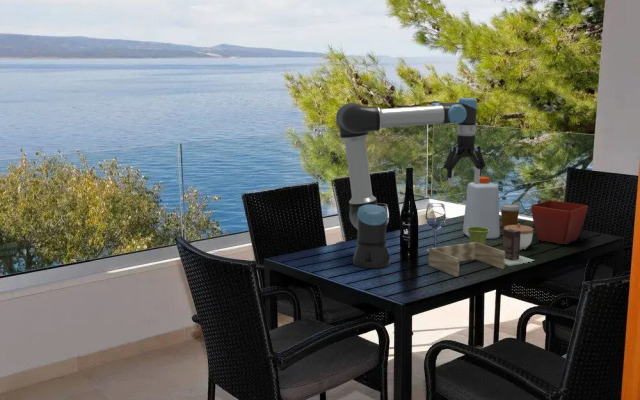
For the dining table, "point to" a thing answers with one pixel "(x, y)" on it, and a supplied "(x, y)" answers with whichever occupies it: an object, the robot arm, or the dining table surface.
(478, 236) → the plant pot
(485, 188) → the plastic bottle
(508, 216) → the disposable coffee cup
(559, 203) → the plant pot
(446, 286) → the dining table surface
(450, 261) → the wooden u-shaped frame
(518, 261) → the plate
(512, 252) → the box
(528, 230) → the lidded bowl
